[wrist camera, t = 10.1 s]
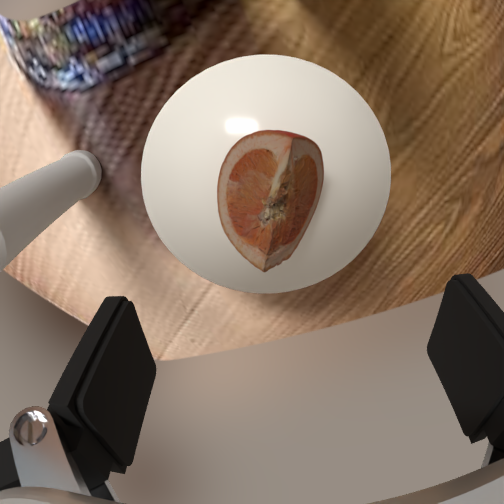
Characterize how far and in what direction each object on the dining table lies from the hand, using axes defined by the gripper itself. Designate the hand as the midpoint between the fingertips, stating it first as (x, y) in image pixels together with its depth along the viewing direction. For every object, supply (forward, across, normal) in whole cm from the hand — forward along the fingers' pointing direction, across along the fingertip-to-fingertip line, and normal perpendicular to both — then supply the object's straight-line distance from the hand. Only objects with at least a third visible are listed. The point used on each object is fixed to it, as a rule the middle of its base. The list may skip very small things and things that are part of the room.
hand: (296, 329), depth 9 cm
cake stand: (+24, 0, 0) cm, 24 cm away
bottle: (+24, +19, -1) cm, 31 cm away
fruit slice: (+15, 0, 0) cm, 15 cm away
